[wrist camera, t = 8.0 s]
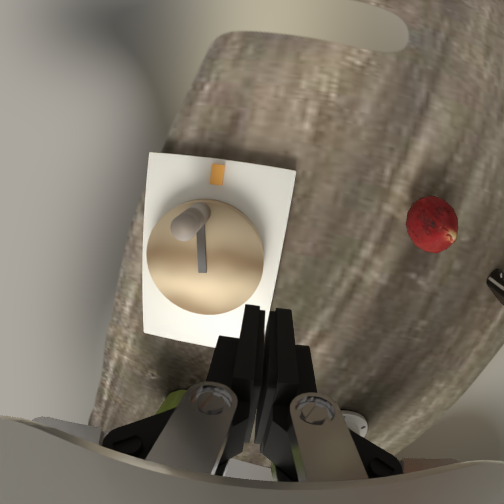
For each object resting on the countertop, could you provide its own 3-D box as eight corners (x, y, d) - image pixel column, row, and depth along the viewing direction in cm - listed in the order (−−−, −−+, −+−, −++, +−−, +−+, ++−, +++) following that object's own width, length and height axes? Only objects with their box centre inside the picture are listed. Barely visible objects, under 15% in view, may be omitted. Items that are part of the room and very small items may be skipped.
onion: (386, 225, 31) (417, 248, 23) (410, 181, 29) (448, 192, 21) (421, 248, 31) (455, 275, 24) (444, 208, 29) (483, 225, 22)
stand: (260, 347, 37) (259, 357, 35) (147, 326, 37) (142, 335, 35) (294, 170, 29) (296, 171, 27) (154, 152, 29) (147, 152, 28)
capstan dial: (262, 308, 33) (260, 352, 25) (159, 302, 33) (133, 341, 26) (265, 199, 29) (263, 216, 21) (149, 199, 29) (112, 216, 22)
